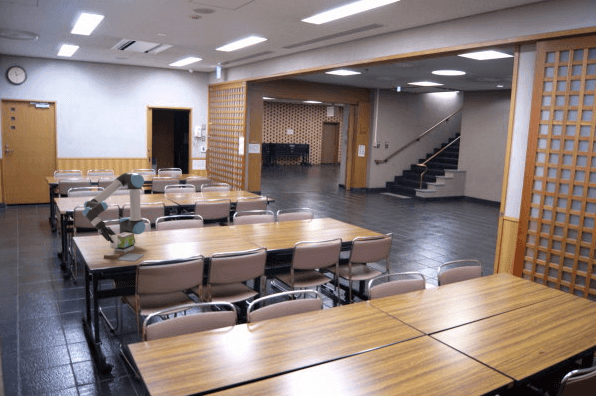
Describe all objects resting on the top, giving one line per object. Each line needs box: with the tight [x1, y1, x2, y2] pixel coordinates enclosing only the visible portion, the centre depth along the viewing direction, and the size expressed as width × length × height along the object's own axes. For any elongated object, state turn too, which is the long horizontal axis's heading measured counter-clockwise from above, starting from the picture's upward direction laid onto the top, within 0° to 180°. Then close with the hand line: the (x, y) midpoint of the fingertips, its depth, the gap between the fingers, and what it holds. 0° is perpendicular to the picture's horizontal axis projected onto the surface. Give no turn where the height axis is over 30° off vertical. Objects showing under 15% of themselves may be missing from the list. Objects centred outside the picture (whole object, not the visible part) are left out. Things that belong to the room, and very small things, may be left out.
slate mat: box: [116, 252, 145, 262], centre depth 375 cm, size 18×14×1 cm
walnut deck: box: [103, 250, 126, 260], centre depth 377 cm, size 14×11×2 cm
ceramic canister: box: [109, 234, 118, 250], centre depth 375 cm, size 6×6×10 cm
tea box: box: [113, 232, 135, 254], centre depth 393 cm, size 15×10×15 cm, turn 168°
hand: (118, 244), depth 375 cm, fingers closed on ceramic canister, 5 cm apart
